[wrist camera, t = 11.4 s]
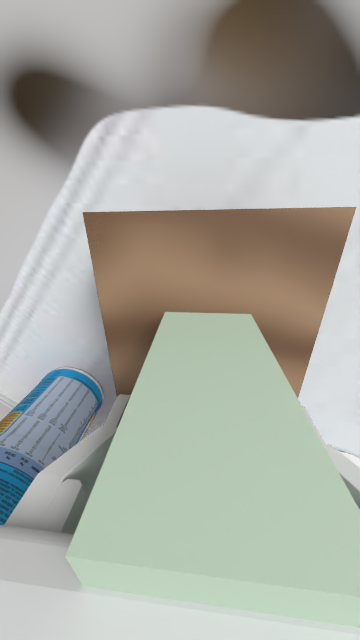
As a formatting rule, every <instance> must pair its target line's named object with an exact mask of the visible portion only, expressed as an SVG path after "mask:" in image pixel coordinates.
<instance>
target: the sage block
mask: <svg viewBox="0 0 360 640" xmlns="http://www.w3.org/2000/svg"><path fill="white" fill-rule="evenodd" d="M65 557H66V559H67V560H68V562H69V564H70V565H71V567H72V569H73V571H74V572H75V574H76V576H77V577H78V579H79V581H80V582H81V584H82V586H85V587H92V588H99V589H105V590H112V591H119V592H125V593H132V594H139V595H145V596H152V597H159V598H166V599H172V600H179V601H186V602H192V603H199V604H206V605H212V606H219V607H226V608H232V609H239V610H246V611H252V612H259V613H266V614H273V615H279V616H286V617H293V618H299V619H306V620H313V621H319V622H326V623H333V624H339V625H346V626H353V627H359V628H360V510H359V508H358V506H357V505H356V503H355V501H354V499H353V497H352V496H351V494H350V492H349V490H348V488H347V487H346V485H345V483H344V481H343V479H342V478H341V476H340V474H339V472H338V470H337V469H336V467H335V465H334V463H333V461H332V459H331V458H330V456H329V454H328V452H327V450H326V449H325V447H324V445H323V443H322V441H321V440H320V438H319V436H318V434H317V432H316V431H315V429H314V427H313V425H312V423H311V422H310V420H309V418H308V416H307V414H306V413H305V411H304V409H303V407H302V405H301V404H300V402H299V400H298V398H297V396H296V394H295V393H294V391H293V389H292V387H291V385H290V384H289V382H288V380H287V378H286V376H285V375H284V373H283V371H282V369H281V367H280V366H279V364H278V362H277V360H276V358H275V357H274V355H273V353H272V351H271V349H270V348H269V346H268V344H267V342H266V340H265V338H264V337H263V335H262V333H261V331H260V329H259V328H258V326H257V324H256V322H255V320H254V319H253V317H252V315H251V314H230V313H189V312H165V313H164V316H163V318H162V320H161V323H160V325H159V328H158V330H157V333H156V335H155V338H154V340H153V343H152V345H151V347H150V350H149V352H148V355H147V357H146V360H145V362H144V365H143V367H142V369H141V372H140V374H139V377H138V379H137V382H136V384H135V387H134V389H133V391H132V394H131V396H130V399H129V401H128V404H127V406H126V409H125V411H124V414H123V416H122V418H121V421H120V423H119V426H118V428H117V431H116V433H115V436H114V438H113V440H112V443H111V445H110V448H109V450H108V453H107V455H106V458H105V460H104V463H103V465H102V467H101V470H100V472H99V475H98V477H97V480H96V482H95V485H94V487H93V489H92V492H91V494H90V497H89V499H88V502H87V504H86V507H85V509H84V512H83V514H82V516H81V519H80V521H79V524H78V526H77V529H76V531H75V534H74V536H73V538H72V541H71V543H70V546H69V548H68V551H67V553H66V556H65Z"/></svg>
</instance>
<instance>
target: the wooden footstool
mask: <svg viewBox="0 0 360 640" xmlns="http://www.w3.org/2000/svg"><path fill="white" fill-rule="evenodd" d="M355 210H356V207H330V208H280V209H229V210H179V211H128V212H83V217H84V222H85V227H86V233H87V238H88V243H89V249H90V254H91V259H92V265H93V270H94V275H95V281H96V286H97V291H98V297H99V302H100V308H101V313H102V318H103V324H104V329H105V334H106V340H107V345H108V350H109V356H110V361H111V366H112V372H113V377H114V382H115V388H116V393H117V397H118V396H119V395H120V394H124V395H131V394H132V391H133V389H134V387H135V384H136V382H137V379H138V377H139V374H140V372H141V369H142V367H143V365H144V362H145V360H146V357H147V355H148V352H149V350H150V347H151V345H152V343H153V340H154V338H155V335H156V333H157V330H158V328H159V325H160V323H161V320H162V318H163V316H164V313H165V312H189V313H230V314H251V315H252V317H253V319H254V320H255V322H256V324H257V326H258V328H259V329H260V331H261V333H262V335H263V337H264V338H265V340H266V342H267V344H268V346H269V348H270V349H271V351H272V353H273V355H274V357H275V358H276V360H277V362H278V364H279V366H280V367H281V369H282V371H283V373H284V375H285V376H286V378H287V380H288V382H289V384H290V385H291V387H292V389H293V391H294V393H295V394H296V396H297V398H298V396H299V393H300V390H301V386H302V383H303V380H304V376H305V373H306V370H307V367H308V363H309V360H310V357H311V354H312V350H313V347H314V344H315V340H316V337H317V334H318V331H319V327H320V324H321V321H322V318H323V314H324V311H325V308H326V304H327V301H328V298H329V295H330V291H331V288H332V285H333V282H334V278H335V275H336V272H337V268H338V265H339V262H340V259H341V255H342V252H343V249H344V246H345V242H346V239H347V236H348V232H349V229H350V226H351V223H352V219H353V216H354V213H355Z"/></svg>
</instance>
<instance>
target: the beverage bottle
mask: <svg viewBox="0 0 360 640" xmlns="http://www.w3.org/2000/svg"><path fill="white" fill-rule="evenodd" d="M102 402H103V392H102V389H101V387H100V385H99V383H98V382H97V381H96V380H95V379H94V378H93V377H92V376H91V375H89V374H88V373H86V372H84V371H82V370H79V369H76V368H71V367H62V368H57V369H55V370H53V371H51V372H50V373H48V374H47V375H46V376H45V377H44V378H43V379H42V381H41V382H40V383H39V384H38V385H37V386H36V387H35V388H34V389H33V390H32V391H31V392H30V393H29V394H28V395H27V396H26V397H25V398H24V399H23V400H22V401H21V402H20V403H19V404H18V405H17V406H16V407H15V408H14V409H13V410H12V411H11V412H10V413H9V414H8V415H7V416H6V417H5V418H4V419H3V420H1V421H0V525H4V524H5V523H6V521H7V520H8V518H9V517H10V515H11V514H12V512H13V511H14V509H15V508H16V506H17V505H18V503H19V502H20V500H21V499H22V497H23V495H24V494H25V492H26V491H27V489H28V488H29V486H30V485H31V483H32V482H33V480H34V479H35V477H36V476H37V474H38V473H40V472H41V471H42V470H44V469H45V468H46V467H47V466H49V465H50V464H51V463H53V462H54V461H55V460H56V459H58V458H59V457H60V456H62V455H63V454H64V453H66V452H67V451H68V450H69V449H71V448H72V447H73V446H75V445H76V444H77V443H79V442H80V441H81V440H82V439H83V437H84V435H85V433H86V431H87V429H88V428H89V426H90V424H91V422H92V420H93V419H94V417H95V415H96V413H97V412H98V410H99V408H100V407H101V405H102Z"/></svg>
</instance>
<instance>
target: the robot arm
mask: <svg viewBox="0 0 360 640" xmlns="http://www.w3.org/2000/svg"><path fill="white" fill-rule="evenodd" d="M130 396H131V395H124V394H120V395H119V396H118V397H117V398H116V400H115V402H114V404H113V406H112V408H111V410H110V412H109V415H108V417H107V419H106V421H105V423H104V425H103V427H98V428H97V429H95V430H94V431H93V432H91V433H90V434H89V435H88V436H86V437H85V438H84V439H82V440H81V441H80V442H79V443H77V444H76V445H75V446H73V447H72V448H71V449H69V450H68V451H67V452H66V453H64V454H63V455H62V456H60V457H59V458H58V459H56V460H55V461H54V462H53V463H51V464H50V465H49V466H47V467H46V468H45V469H44V470H42V471H41V472H40V473H38V474H37V476H36V477H35V479H34V480H33V482H32V483H31V485H30V486H29V488H28V489H27V491H26V492H25V494H24V495H23V497H22V499H21V500H20V502H19V503H18V505H17V506H16V508H15V509H14V511H13V512H12V514H11V515H10V517H9V518H8V520H7V521H6V523H5V524H4V525H0V640H360V628H359V627H353V626H346V625H339V624H333V623H326V622H319V621H313V620H306V619H299V618H293V617H286V616H279V615H273V614H266V613H259V612H252V611H246V610H239V609H232V608H226V607H219V606H212V605H206V604H199V603H192V602H186V601H179V600H172V599H166V598H159V597H152V596H145V595H139V594H132V593H125V592H119V591H112V590H105V589H99V588H92V587H85V586H82V584H81V582H80V581H79V579H78V577H77V576H76V574H75V572H74V571H73V569H72V567H71V565H70V564H69V562H68V560H67V559H66V557H65V556H66V553H67V551H68V548H69V546H70V543H71V541H72V538H73V536H74V534H75V531H76V529H77V526H78V524H79V521H80V519H81V516H82V514H83V512H84V509H85V507H86V504H87V502H88V499H89V497H90V494H91V492H92V489H93V487H94V485H95V482H96V480H97V477H98V475H99V472H100V470H101V467H102V465H103V463H104V460H105V458H106V455H107V453H108V450H109V448H110V445H111V443H112V440H113V438H114V436H115V433H116V431H117V428H118V426H119V423H120V421H121V418H122V416H123V414H124V411H125V409H126V406H127V404H128V401H129V399H130ZM302 407H303V406H302ZM303 409H304V411H305V413H306V414H307V416H308V418H309V420H310V422H311V423H312V425H313V427H314V429H315V431H316V432H317V434H318V436H319V438H320V440H321V441H322V443H323V445H324V447H325V449H326V450H327V452H328V454H329V456H330V458H331V459H332V461H333V463H334V465H335V467H336V469H337V470H338V472H339V474H340V476H341V478H342V479H343V481H344V483H345V485H346V487H347V488H348V490H349V492H350V494H351V496H352V497H353V499H354V501H355V503H356V505H357V506H358V508H359V510H360V458H358V457H356V456H354V455H351V454H348V453H345V452H340V451H338V450H336V449H335V448H334V447H333V446H331V445H329V444H326V443H325V442H324V440H323V438H322V436H321V435H320V433H319V431H318V430H317V428H316V426H315V424H314V423H313V421H312V419H311V417H310V416H309V414H308V412H307V410H306V409H305V407H303Z"/></svg>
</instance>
